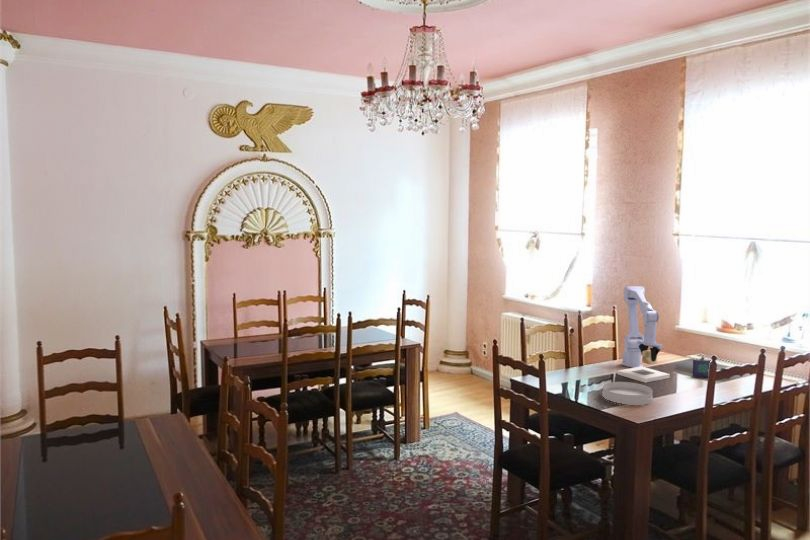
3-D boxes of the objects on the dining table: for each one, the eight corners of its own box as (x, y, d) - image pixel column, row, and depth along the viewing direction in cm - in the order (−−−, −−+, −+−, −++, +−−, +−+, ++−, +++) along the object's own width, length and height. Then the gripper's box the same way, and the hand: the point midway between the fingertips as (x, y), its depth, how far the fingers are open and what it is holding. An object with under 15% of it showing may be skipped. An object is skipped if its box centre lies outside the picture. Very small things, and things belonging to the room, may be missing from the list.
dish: (612, 389, 311) (613, 379, 310) (659, 397, 297) (659, 387, 296) (594, 399, 294) (594, 389, 293) (642, 409, 280) (643, 398, 279)
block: (641, 362, 334) (642, 350, 333) (648, 361, 336) (649, 350, 336) (649, 364, 330) (650, 352, 329) (656, 363, 332) (657, 352, 332)
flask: (709, 375, 334) (710, 355, 332) (712, 377, 331) (713, 357, 329) (691, 375, 334) (692, 355, 333) (693, 377, 331) (694, 356, 330)
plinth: (617, 374, 337) (617, 370, 336) (641, 370, 345) (641, 366, 345) (645, 382, 321) (645, 378, 321) (669, 378, 329) (669, 373, 329)
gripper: (633, 332, 336) (632, 357, 337) (656, 337, 323) (655, 363, 324) (642, 331, 339) (641, 356, 341) (665, 336, 327) (664, 362, 328)
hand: (648, 359), depth 333 cm, fingers closed on block, 5 cm apart
